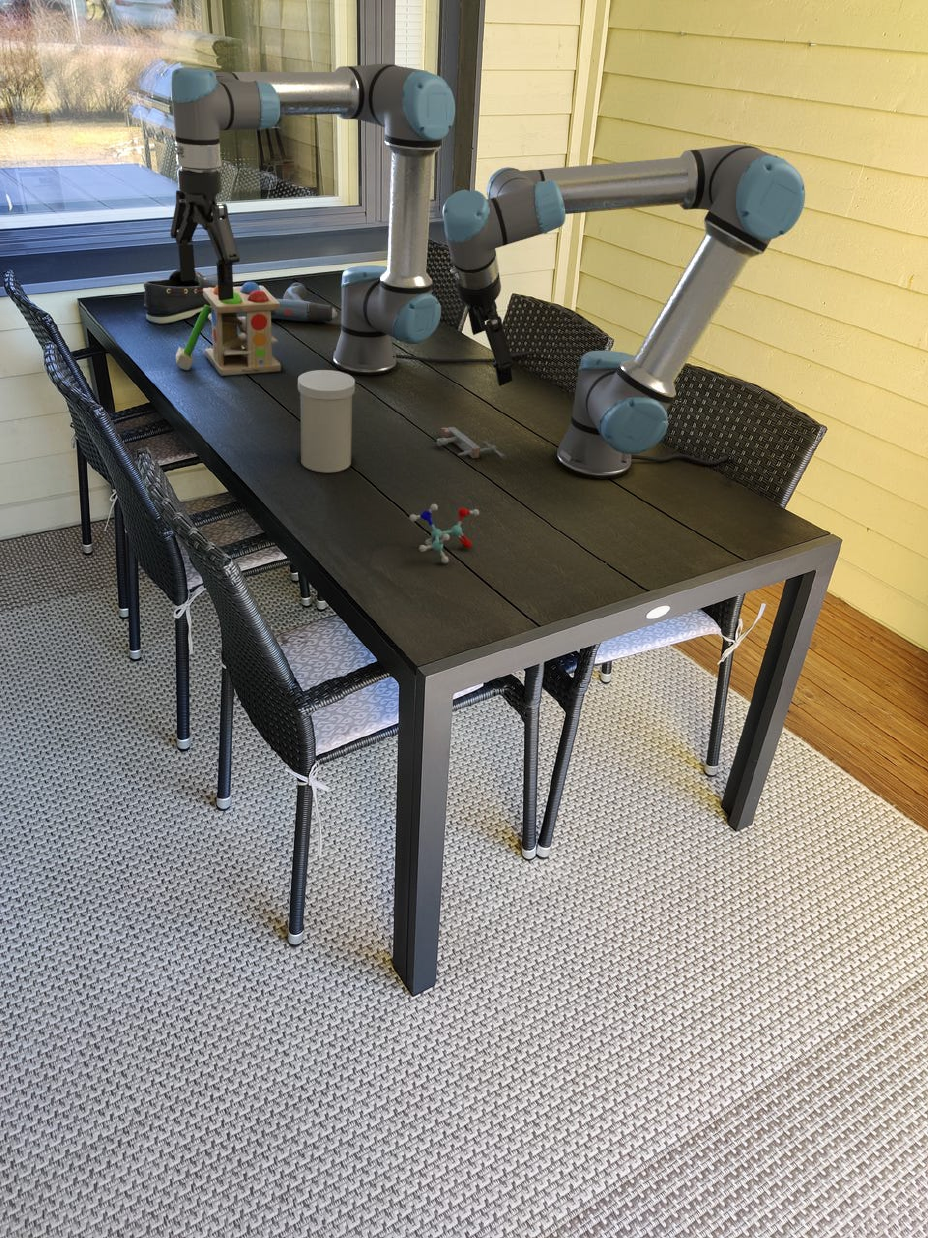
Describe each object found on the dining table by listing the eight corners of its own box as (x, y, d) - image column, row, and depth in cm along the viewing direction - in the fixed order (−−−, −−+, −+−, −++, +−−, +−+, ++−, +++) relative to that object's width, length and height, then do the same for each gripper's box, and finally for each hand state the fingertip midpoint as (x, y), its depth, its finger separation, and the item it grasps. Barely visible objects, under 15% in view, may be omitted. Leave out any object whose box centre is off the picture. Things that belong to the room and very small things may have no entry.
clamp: (428, 429, 204) (470, 423, 208) (427, 439, 205) (469, 432, 209) (464, 459, 193) (507, 451, 198) (463, 469, 194) (506, 461, 199)
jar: (341, 476, 188) (343, 395, 179) (293, 467, 189) (292, 387, 180) (357, 455, 196) (359, 377, 187) (311, 447, 197) (310, 369, 188)
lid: (344, 403, 179) (344, 394, 178) (289, 394, 181) (289, 385, 180) (362, 384, 188) (362, 375, 187) (309, 375, 189) (309, 366, 188)
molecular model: (470, 557, 159) (450, 498, 158) (419, 572, 163) (399, 515, 161) (491, 545, 170) (472, 489, 168) (442, 560, 173) (424, 506, 172)
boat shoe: (253, 302, 272) (251, 263, 267) (163, 325, 248) (159, 283, 243) (219, 293, 278) (216, 255, 272) (128, 316, 254) (123, 274, 248)
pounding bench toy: (183, 379, 220) (176, 299, 210) (169, 357, 231) (162, 280, 221) (282, 371, 230) (280, 294, 220) (264, 350, 240) (262, 276, 230)
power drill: (344, 304, 276) (335, 327, 259) (277, 298, 275) (264, 321, 258) (344, 285, 273) (335, 306, 256) (277, 279, 272) (264, 300, 255)
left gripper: (145, 155, 179) (155, 274, 191) (217, 183, 164) (224, 310, 176) (182, 153, 183) (190, 269, 195) (256, 180, 169) (260, 304, 181)
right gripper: (432, 235, 173) (451, 318, 192) (482, 334, 162) (497, 411, 181) (471, 219, 173) (486, 303, 192) (524, 317, 162) (535, 396, 181)
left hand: (206, 289), depth 186 cm, fingers open, 13 cm apart
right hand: (492, 356), depth 187 cm, fingers open, 13 cm apart
